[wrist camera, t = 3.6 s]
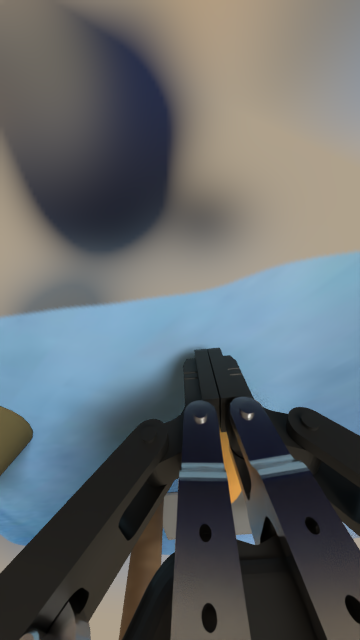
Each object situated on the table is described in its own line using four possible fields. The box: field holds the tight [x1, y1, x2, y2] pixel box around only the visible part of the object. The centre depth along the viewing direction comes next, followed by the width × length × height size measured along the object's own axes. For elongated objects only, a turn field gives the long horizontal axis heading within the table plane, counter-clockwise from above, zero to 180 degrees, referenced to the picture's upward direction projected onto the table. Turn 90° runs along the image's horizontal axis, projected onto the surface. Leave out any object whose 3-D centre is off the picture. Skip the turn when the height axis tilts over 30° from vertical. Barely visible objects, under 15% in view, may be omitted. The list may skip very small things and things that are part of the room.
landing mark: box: [163, 491, 252, 540], centre depth 24 cm, size 14×14×1 cm
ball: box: [220, 430, 242, 504], centre depth 14 cm, size 5×5×5 cm
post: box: [119, 498, 164, 640], centre depth 16 cm, size 3×3×9 cm
